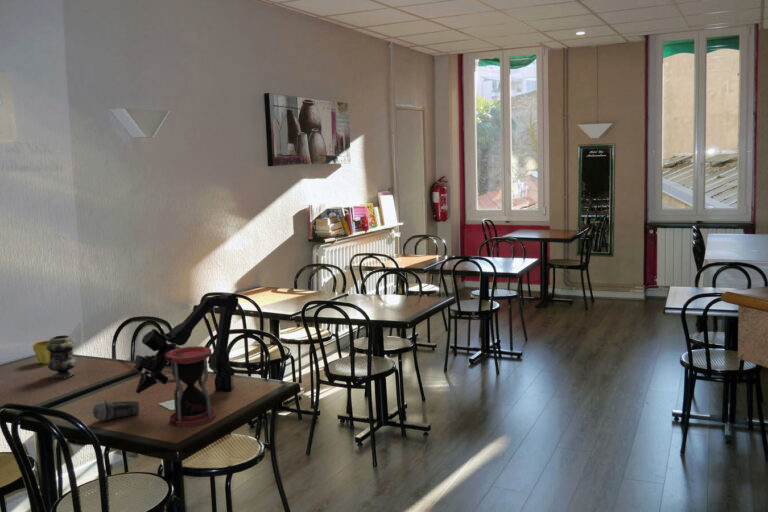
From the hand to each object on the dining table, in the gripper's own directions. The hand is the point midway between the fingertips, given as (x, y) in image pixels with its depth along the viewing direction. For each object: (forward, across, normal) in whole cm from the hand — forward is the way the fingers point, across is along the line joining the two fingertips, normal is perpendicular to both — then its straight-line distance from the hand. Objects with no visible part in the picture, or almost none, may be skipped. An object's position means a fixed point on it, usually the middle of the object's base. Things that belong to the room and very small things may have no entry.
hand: (136, 392), depth 268 cm
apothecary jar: (+8, -74, +4) cm, 75 cm away
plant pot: (+6, -105, +5) cm, 106 cm away
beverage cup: (+4, +2, +3) cm, 6 cm away
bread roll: (-15, -32, +26) cm, 44 cm away
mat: (-5, +3, +16) cm, 17 cm away
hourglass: (-2, +22, +13) cm, 26 cm away
